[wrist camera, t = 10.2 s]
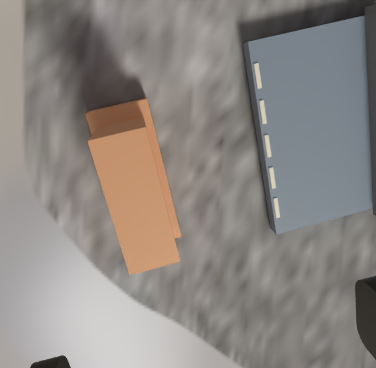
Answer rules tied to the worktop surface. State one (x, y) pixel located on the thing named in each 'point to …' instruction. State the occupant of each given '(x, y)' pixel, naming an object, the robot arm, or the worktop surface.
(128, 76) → the worktop surface
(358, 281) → the robot arm
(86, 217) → the worktop surface
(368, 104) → the panel with knobs
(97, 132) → the stub
